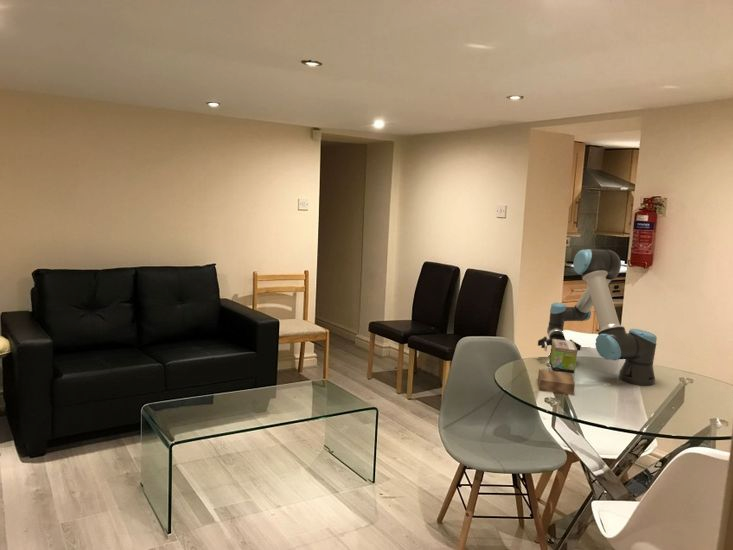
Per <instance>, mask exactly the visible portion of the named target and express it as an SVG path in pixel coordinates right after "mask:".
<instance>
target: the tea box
mask: <svg viewBox="0 0 733 550" xmlns="http://www.w3.org/2000/svg"><path fill="white" fill-rule="evenodd" d="M573 341H574V340H573ZM573 341H569V340H567V339H566V340H558V339H552V345H550V346H551V347H550V355H549V360H548V365H549V364H550V365H551V368H549V367H548V371H556V372H564V373H572V377H573V380H575V379H574V378H575V371H576V363H577V357H578V352H577V348H576V346H575V344H574V342H575V341H574V342H573Z"/></svg>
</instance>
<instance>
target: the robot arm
mask: <svg viewBox="0 0 733 550" xmlns="http://www.w3.org/2000/svg"><path fill="white" fill-rule="evenodd" d="M572 264H573V270H574V272H575V273H577V274H578V275H581V279H582V281H584V282H586V283H587V286H586V289H585V290H584V292H583V293H582V294H581V296H580V297H579V299H578V300H577V302H576V303H575V305H574V306H567V305H566V303H563V302H553V303H552V304H551V306H550V308H549V309H550V310H549V321H548V326H547V331H546V333H547V335H548V337H547V336H543V337H542V338H540V339H539V340H537V346H539V347H540V346H541V349H544V352H547V351H548V347H549V346H551V345H552V339H558V340H567V339H566V337H565V335H564V325H565V322H584V321H588V320H590V319H591V316H592V308H594V311H595V316H596V319H597V323H598V326H599V330H598V331H597V336H596V338H595V341H596V342H595V349H596V352H597V354H598V355H599V356H601V358H603V359H604V360H608V361H611V360H612V361H618V360H619V361H620V360H624V363H623V365H622V366H621V368H620V370H619V373H618V377H619V379H620V380H622V381H624V382H626V383H629V384H631V385H632V384H634V385H637V386H652V385H655V381H656V376H655V371H654V360H655V355H656V354H655V353H656V348H657V339H658V338H657V336H656V334H655V333H653V332H649V331H647V330H643V329H640V328H639V329H638V328H630V329H629V331H628V332H626V328H625V327H624V326H623V325H621V323H620V321H619V318H618V314H617V312H616V311H617V310H616V308H615V304H614V301H613V297H612V294H611V290H610V288H609V284H610V282H611V281H614V280H615V279H616V278H617V277H618V275H619V274H620V271H621V268H622V262H621V258H620V256H619V255H618V254H617V253H616V251H613V250H610V249H589V248H588V249H581V250H579V251H578V252H577V253H576V254H575V256H574V258H573V263H572ZM562 331H563V332H562ZM568 341H573V342H574V344H575V346H576V348H577V353H578V351H579V352H580V351H581V350H582V345H581V344H579V343H578V342H576V341H574V340H573V339H569V340H568Z"/></svg>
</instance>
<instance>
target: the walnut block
mask: <svg viewBox="0 0 733 550" xmlns="http://www.w3.org/2000/svg"><path fill="white" fill-rule="evenodd" d="M537 382H538V384H537V385H538V390H539V391H541V392H551V393H557V394H565V395H571V396H572V395H575V394H574V393H575V385H576V384H575V379H573V377H572V373H564V372H556V371H550V370H549V369H548V370H547V369H538V376H537Z"/></svg>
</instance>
